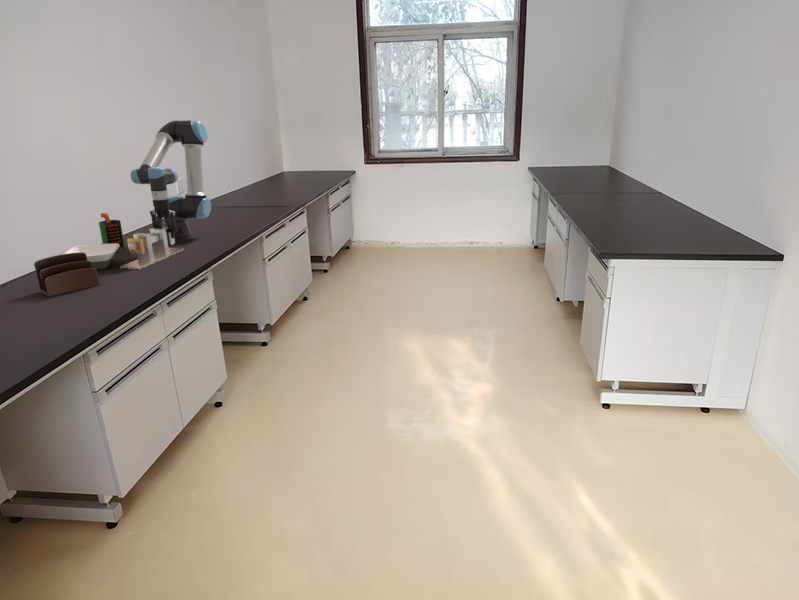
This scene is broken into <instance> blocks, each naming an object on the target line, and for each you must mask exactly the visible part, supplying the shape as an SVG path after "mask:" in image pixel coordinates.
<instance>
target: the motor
mask: <svg viewBox="0 0 799 600" xmlns="http://www.w3.org/2000/svg"><path fill="white" fill-rule="evenodd" d="M100 216H101V217H100V218H103V219H104V220H102V221H99V222H98V226H99V231H100V237H101V242H102V243H101V244H115V243H118V244H119V245H120V246H119V248H118V249H117V251H116V252H117V253H121V252H123V251H124V250H126V246H125V240H124V234H123V233H124V232H123V228H122V223H121V220H119V219H110V217H109V214H108V213H107V212H103V213H100ZM122 250H123V251H122ZM120 251H121V252H120Z"/></svg>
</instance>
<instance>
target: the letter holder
mask: <svg viewBox="0 0 799 600" xmlns="http://www.w3.org/2000/svg"><path fill="white" fill-rule="evenodd" d="M33 265H34V269H35V273H36V277H37V281H38V282H37V283H38V286H39V289H40V292H41V293H43V294H44V295H45V296H47V297H48V298H49V297H53V296H58V295H63V294H67V293H71V292H74V291H79V290H85V289H88V288H89V289H90V288H93V287H97V286H100V285H101V283H100V279H99V275H98V271H97V270H96V269H95V268H92V263H91V261H87V256H86V254H85V253H69V254H64V253H63V254H57V255H54V256H49V257H46V258H42V259H38V260H36V261H34V264H33Z"/></svg>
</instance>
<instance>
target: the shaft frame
mask: <svg viewBox="0 0 799 600" xmlns="http://www.w3.org/2000/svg"><path fill="white" fill-rule="evenodd" d="M153 234H160V240H159V241H157V242H154V243H151V237H150V235H153ZM133 238H134V239H143V240H144V245H145V246H144V248H145V254H136V257H137V259H135V260H133V261H130V262H128V263H126V264H123V265H121V266H120V269H122V268H128V269H127V270H136V269H139V270H141V268H142V269H143V267H144V268H146V267H149V266H151V265H153V264H156V263H158V262H160V261H162V259H163V260H165V259H167V258H169V256H170V257H172V256H174V255H176V253H177V254H178V252H179V253H181V252H183V250H184V251H185V248H184V247H170V246H169V243H168V241H167V235H166V229H165V228H153V227H151V228H149V233H143V232H139V233H138V232H137V233H134V234H133ZM135 250H140V249H139V248H138V249H135ZM180 251H181V252H180ZM173 254H174V255H173ZM171 255H172V256H171ZM157 261H158V262H157ZM155 262H156V263H155ZM150 264H151V265H150ZM148 265H149V266H148Z"/></svg>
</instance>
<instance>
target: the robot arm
mask: <svg viewBox="0 0 799 600" xmlns="http://www.w3.org/2000/svg"><path fill="white" fill-rule="evenodd" d="M157 131H158V132H157V133H156V135H155V140H154V142H153V144H152V146H151V147H150V149H149V151H148V153H147V154H146V156H145V158H144V160H143V162H142V163H141V165H140V166H139V168H134V169H131V172H130V179H131V181H132V183H134V184H137V185H149V186H150V193H151V198H152V199H153V200H152V206H153V208H154V209H153V210H150V211H149V214H150V216H151V222H152V228H162V227H163V219H164V227H168V228H169V232H168V233H169V239H170V242H169V244H170V245H174V244H176V239H184V237H185V238H188V236H189V237H191V236H192V235H191V234H192V230H191V229H190V227H189V224H188V222H187V219H192V220H193V219H195V220H196V219H197V220H201V219H202V220H203V219H206V218H208V217H209V216H210V213H211V210H212V202H211V200H210V198H208V197H207V193H205V192H204V181H203V180H204V178H203V177H204V176H203V161H202V160H203V159H202V158H203V157H202V149H203V147H204V146H205V144H204V143H207V141H208V133H207V132H208V131H207V129H206V126H205V125H204V123H203V122H202V121H200V120H193V119H192V120H190V119H189V120H172V121H170V122H168V123H166V124H164V125H163V126H162V127H161V128H160V129H159V130H157ZM176 143H181V146H182V147H183V148H184V156H185V171H186V173H185V174H186V187H187V188H186V189H187V190H186V191H187V192H186V193H185V194H184V196H183V195H182V194H179V195H178V194H177V195H172V196H169V194H168V186H167V185H171V184H174V183H177V182H178V179H179V174H178V172H177V170H175V169H174V168H164V167H162V166H160V165H161V163H162V161H163V160H164V158H165V156H166V154H167V152H168V151H169V149H170V148H172V147H173V146H174V144H176ZM190 235H191V236H190ZM174 238H175V240H174Z"/></svg>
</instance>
